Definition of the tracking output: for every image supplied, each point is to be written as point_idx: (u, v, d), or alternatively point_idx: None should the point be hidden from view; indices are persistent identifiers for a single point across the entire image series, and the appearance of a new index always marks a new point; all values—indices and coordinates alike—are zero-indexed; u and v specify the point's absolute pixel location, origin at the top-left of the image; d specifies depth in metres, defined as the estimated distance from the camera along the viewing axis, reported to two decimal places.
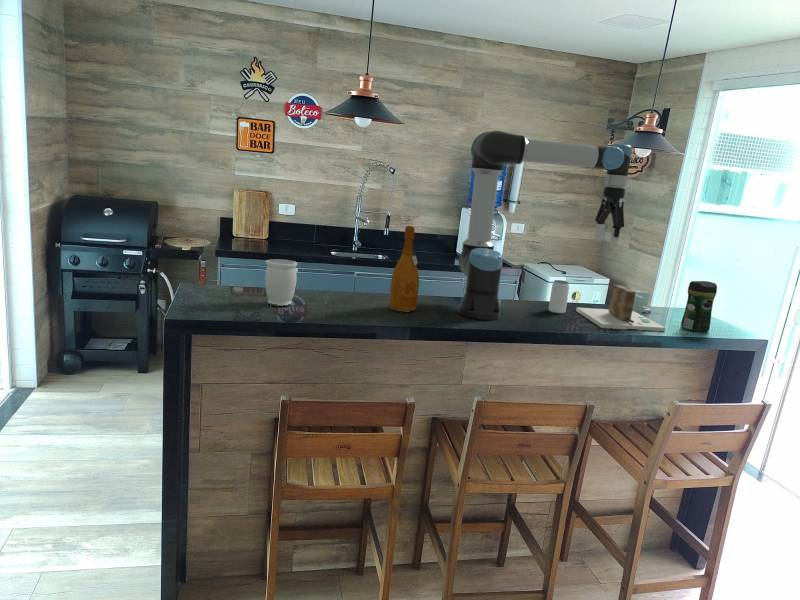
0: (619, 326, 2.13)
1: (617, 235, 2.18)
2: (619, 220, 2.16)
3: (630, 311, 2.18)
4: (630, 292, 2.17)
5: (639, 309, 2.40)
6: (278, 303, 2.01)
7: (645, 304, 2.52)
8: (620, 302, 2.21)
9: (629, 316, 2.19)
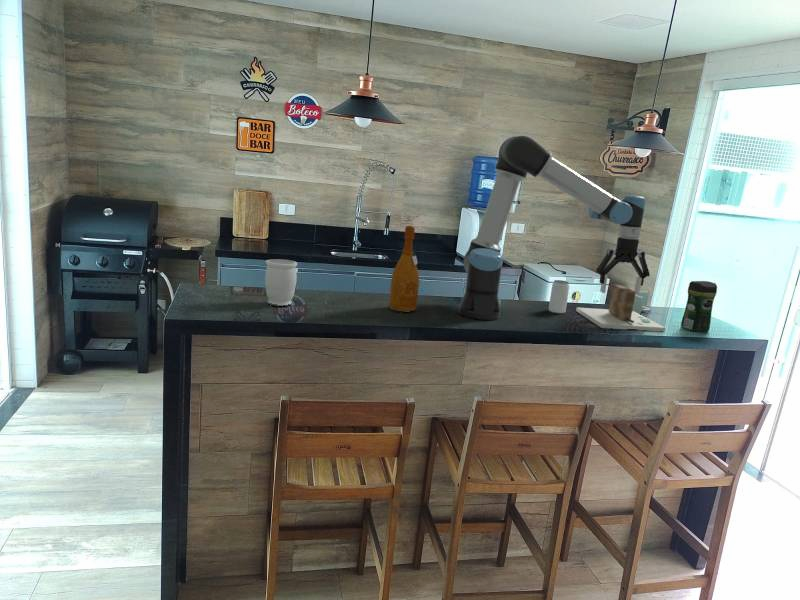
0: (619, 326, 2.13)
1: (600, 281, 2.24)
2: (599, 266, 2.24)
3: (630, 311, 2.18)
4: (630, 292, 2.17)
5: (638, 309, 2.40)
6: (278, 303, 2.01)
7: (644, 304, 2.53)
8: (620, 302, 2.21)
9: (629, 316, 2.19)
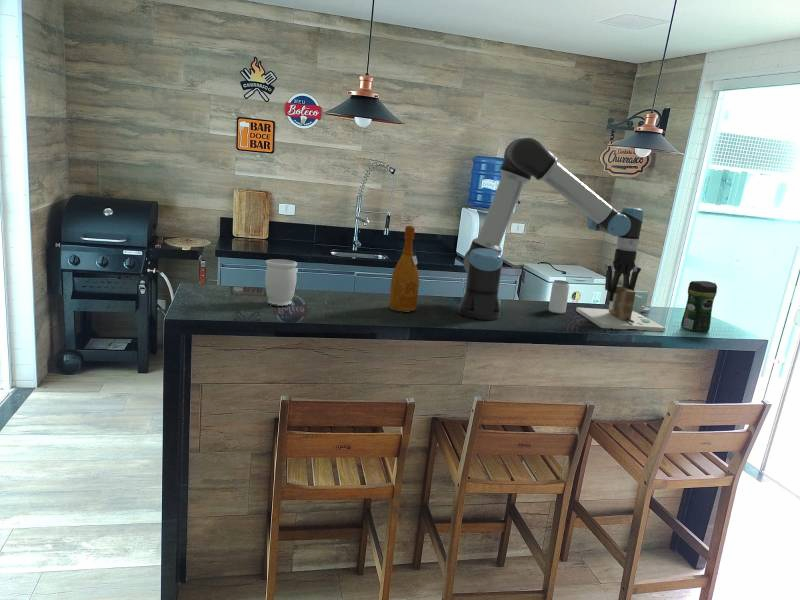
0: (619, 326, 2.13)
1: (609, 298, 2.26)
2: (606, 284, 2.25)
3: (630, 311, 2.18)
4: (630, 292, 2.17)
5: (638, 309, 2.40)
6: (278, 303, 2.01)
7: (644, 304, 2.53)
8: (620, 302, 2.21)
9: (629, 316, 2.19)
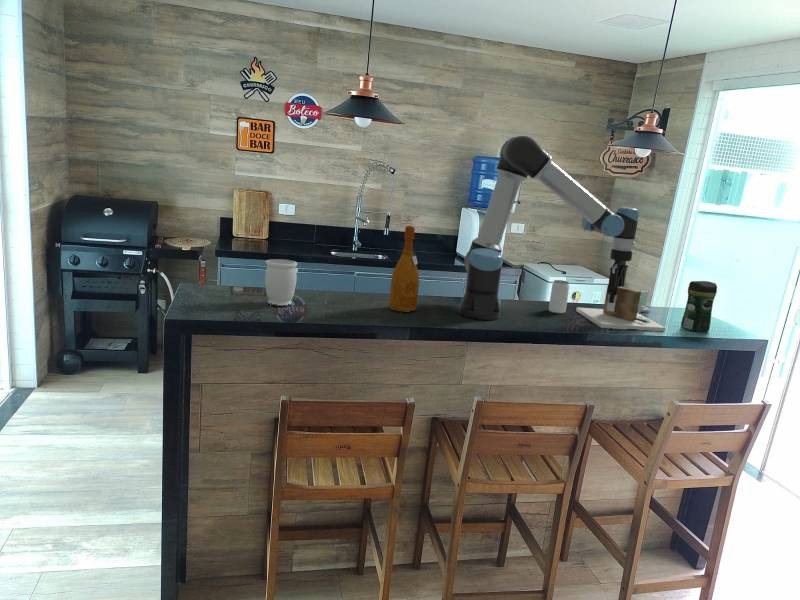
0: (619, 326, 2.13)
1: (611, 300, 2.23)
2: (610, 287, 2.20)
3: (637, 310, 2.20)
4: (638, 292, 2.18)
5: None
6: (278, 303, 2.01)
7: (643, 304, 2.53)
8: (625, 303, 2.21)
9: (635, 315, 2.21)
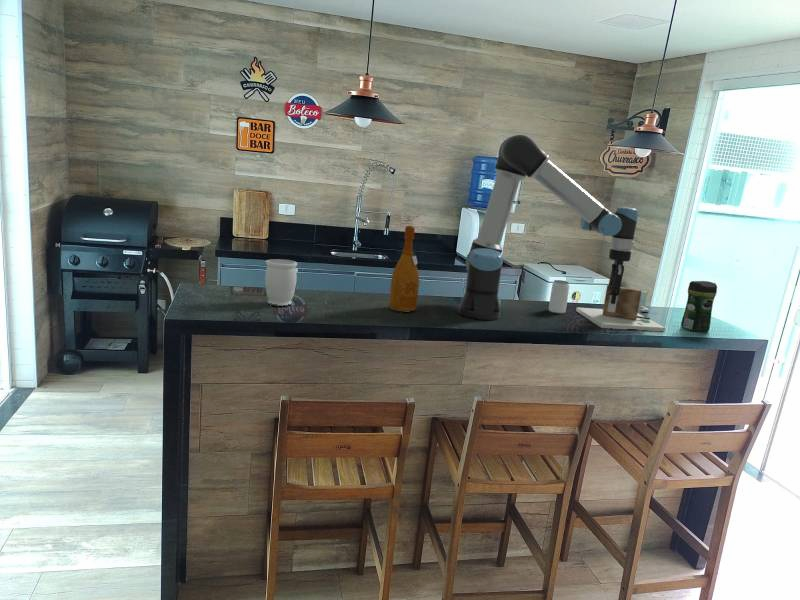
0: (619, 326, 2.13)
1: (614, 301, 2.21)
2: (615, 288, 2.18)
3: None
4: (641, 291, 2.20)
5: None
6: (278, 303, 2.01)
7: (643, 304, 2.53)
8: (628, 303, 2.21)
9: None
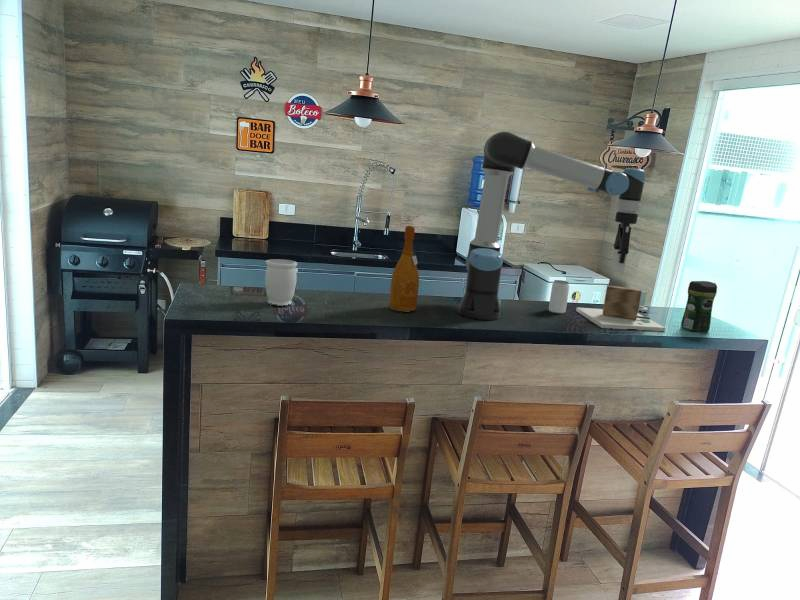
0: (619, 326, 2.13)
1: (622, 261, 2.12)
2: (623, 246, 2.10)
3: None
4: (641, 291, 2.21)
5: None
6: (278, 303, 2.01)
7: (642, 303, 2.53)
8: (628, 303, 2.21)
9: None
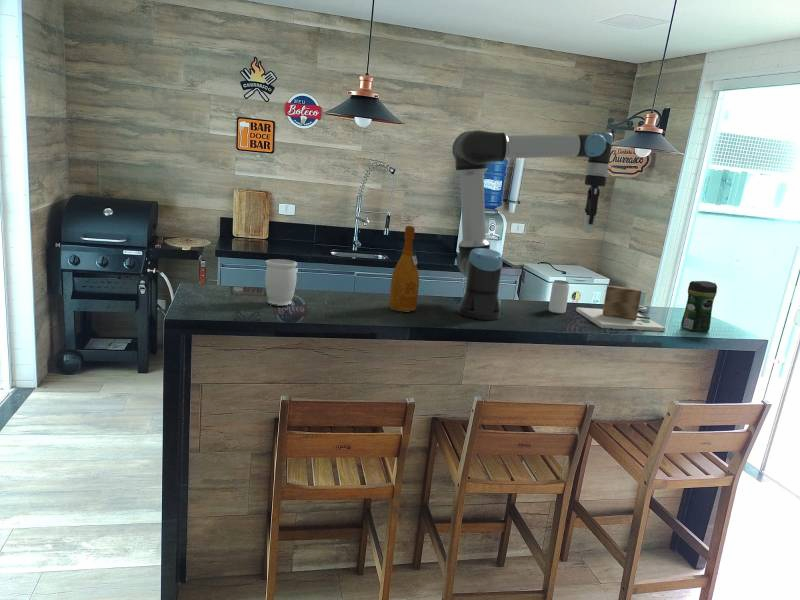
0: (619, 326, 2.13)
1: (591, 222, 2.18)
2: (592, 207, 2.16)
3: None
4: (641, 291, 2.21)
5: None
6: (278, 303, 2.01)
7: (641, 303, 2.53)
8: (628, 303, 2.21)
9: None
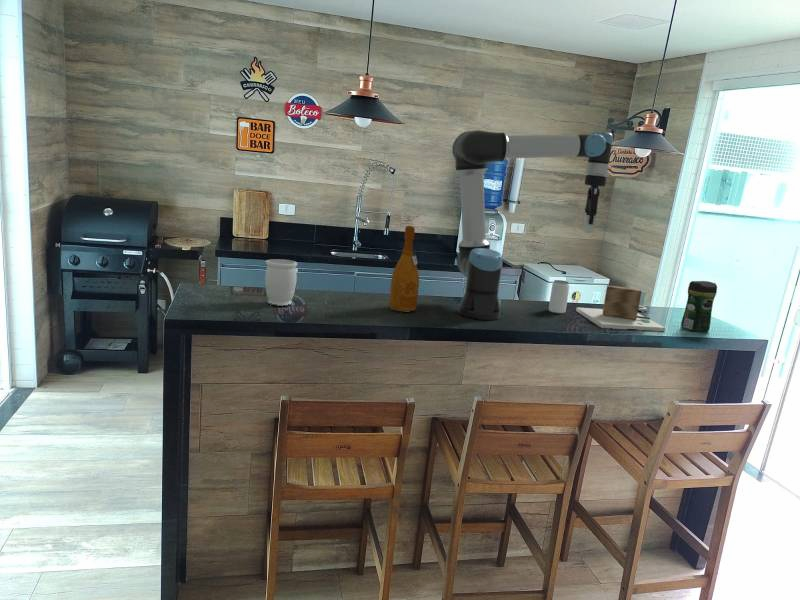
0: (619, 326, 2.13)
1: (591, 222, 2.18)
2: (592, 207, 2.16)
3: None
4: (641, 291, 2.21)
5: None
6: (278, 303, 2.01)
7: (641, 303, 2.54)
8: (628, 303, 2.21)
9: None
